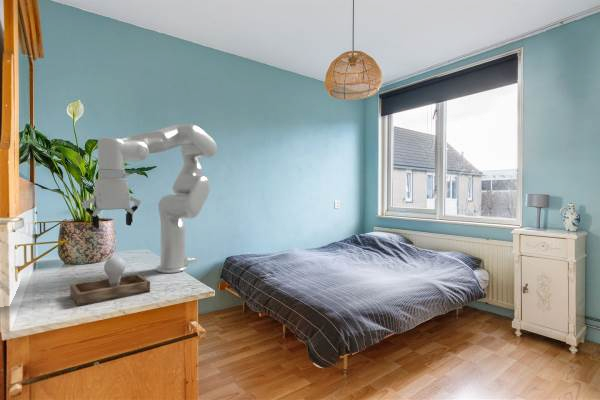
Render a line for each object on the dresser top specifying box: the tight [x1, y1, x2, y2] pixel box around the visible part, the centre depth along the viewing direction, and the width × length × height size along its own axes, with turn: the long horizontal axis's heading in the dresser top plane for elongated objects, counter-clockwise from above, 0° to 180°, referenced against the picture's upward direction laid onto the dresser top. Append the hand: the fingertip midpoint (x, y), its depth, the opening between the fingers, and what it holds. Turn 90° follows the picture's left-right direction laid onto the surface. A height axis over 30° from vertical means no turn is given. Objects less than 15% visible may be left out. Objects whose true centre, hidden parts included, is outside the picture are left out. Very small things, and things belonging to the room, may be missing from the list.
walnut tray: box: [69, 273, 151, 307], centre depth 102 cm, size 20×12×4 cm, turn 134°
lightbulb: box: [103, 256, 127, 288], centre depth 103 cm, size 6×6×11 cm
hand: (113, 226), depth 106 cm, fingers open, 9 cm apart
